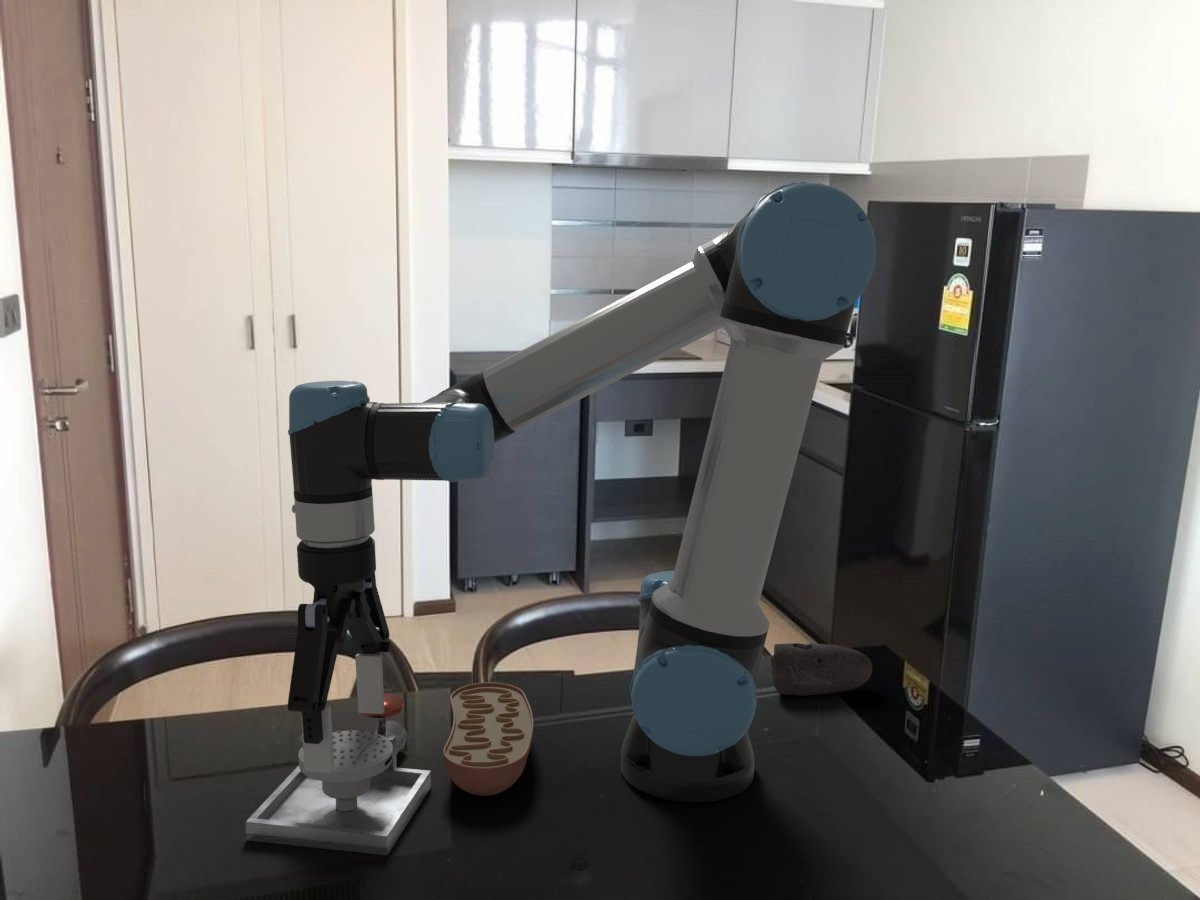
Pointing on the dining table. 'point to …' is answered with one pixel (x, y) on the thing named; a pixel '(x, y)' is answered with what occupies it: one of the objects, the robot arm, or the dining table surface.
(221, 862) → the dining table surface
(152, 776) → the dining table surface
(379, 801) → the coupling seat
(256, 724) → the dining table surface
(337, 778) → the showerhead
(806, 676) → the perforated stone tool
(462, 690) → the anatomical model
